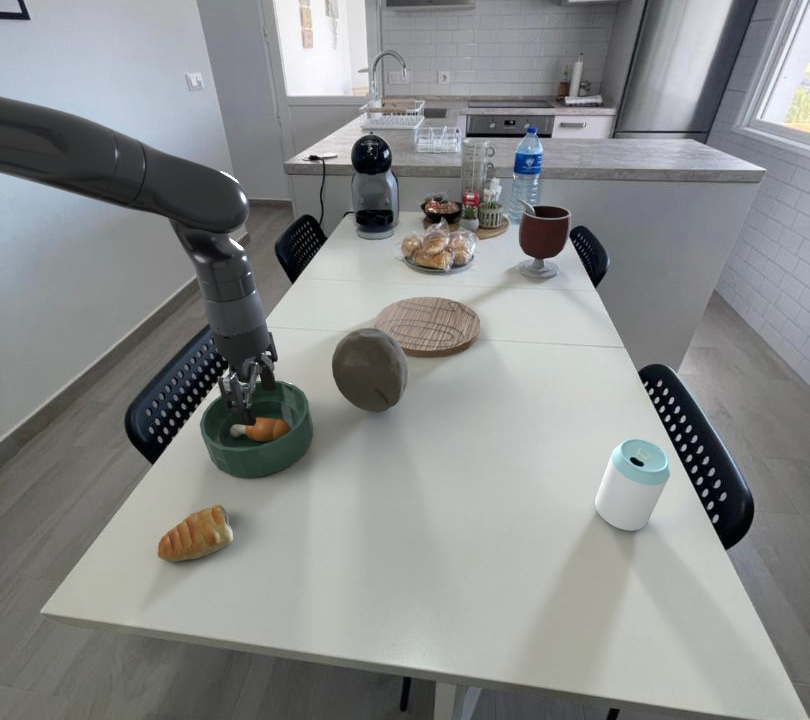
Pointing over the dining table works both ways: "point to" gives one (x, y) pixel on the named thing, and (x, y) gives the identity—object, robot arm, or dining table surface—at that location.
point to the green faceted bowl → (256, 455)
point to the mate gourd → (542, 238)
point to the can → (632, 484)
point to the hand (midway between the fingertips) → (260, 406)
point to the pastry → (197, 535)
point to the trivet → (430, 326)
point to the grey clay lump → (370, 369)
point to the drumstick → (262, 430)
